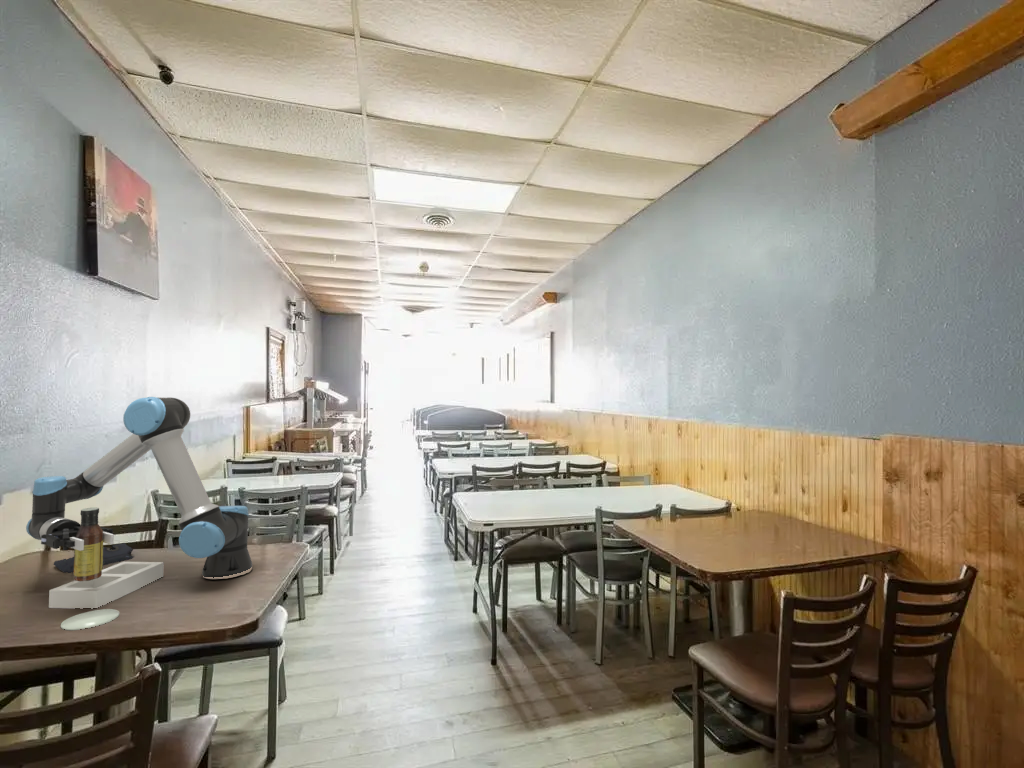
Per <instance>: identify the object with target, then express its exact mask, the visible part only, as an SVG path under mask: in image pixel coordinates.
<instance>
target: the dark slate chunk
mask: <svg viewBox="0 0 1024 768" xmlns="http://www.w3.org/2000/svg"><path fill="white" fill-rule="evenodd" d="M133 551H134V549H133V548H132V547H131V546H128V544H126V543H125V542H122V543H118V544H111V547H105V546H103V566H107V565H112V564H117V563H121V562H126V561H129V560H132V559H134V558H135V556H134V555H132V552H133ZM53 566H55V568H56V569H58V570H59V571H61V572H63V573H66V572H68V573H67V574H71V572H72V573H74V556H73V557H69V558H63V559H59V560H55V561H54V562H53Z"/></svg>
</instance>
